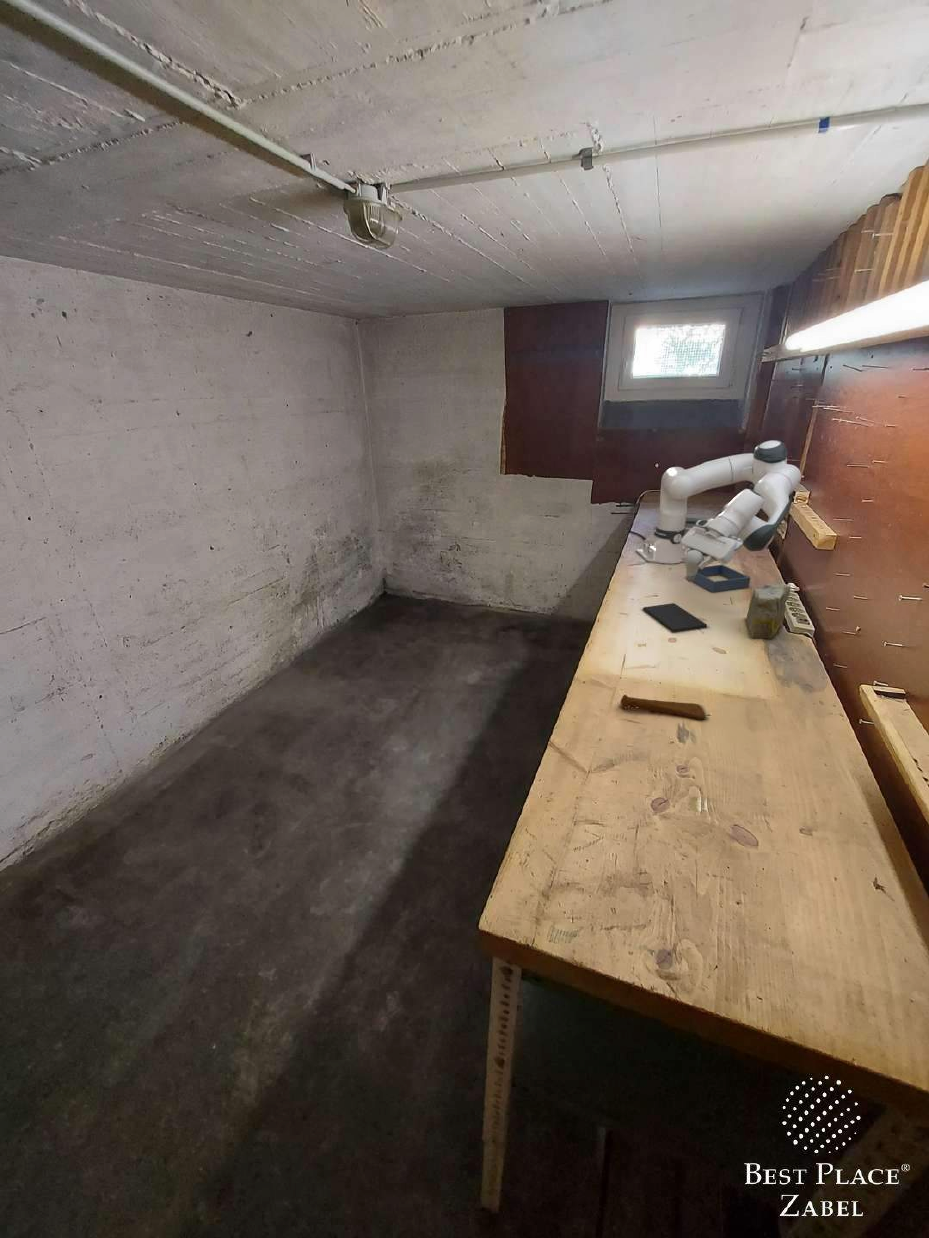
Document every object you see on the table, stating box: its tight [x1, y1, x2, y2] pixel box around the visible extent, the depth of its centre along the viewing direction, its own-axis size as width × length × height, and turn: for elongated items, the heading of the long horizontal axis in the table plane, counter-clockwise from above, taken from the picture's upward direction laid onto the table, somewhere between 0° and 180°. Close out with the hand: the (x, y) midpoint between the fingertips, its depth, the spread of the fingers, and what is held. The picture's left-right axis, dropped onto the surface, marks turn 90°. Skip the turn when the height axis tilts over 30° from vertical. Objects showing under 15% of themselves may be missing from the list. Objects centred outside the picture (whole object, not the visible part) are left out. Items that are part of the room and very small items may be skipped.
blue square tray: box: [692, 564, 751, 593], centre depth 188 cm, size 16×16×4 cm
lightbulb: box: [683, 550, 705, 583], centre depth 161 cm, size 6×6×11 cm
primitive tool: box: [620, 694, 706, 720], centre depth 117 cm, size 19×6×4 cm, turn 82°
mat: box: [642, 602, 708, 633], centre depth 163 cm, size 18×12×1 cm, turn 12°
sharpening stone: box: [685, 513, 716, 534], centre depth 242 cm, size 25×8×11 cm, turn 62°
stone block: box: [746, 583, 791, 639], centre depth 150 cm, size 10×15×15 cm
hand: (691, 564), depth 160 cm, fingers closed on lightbulb, 6 cm apart
